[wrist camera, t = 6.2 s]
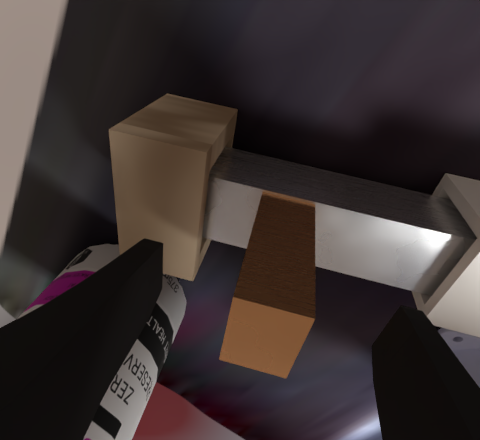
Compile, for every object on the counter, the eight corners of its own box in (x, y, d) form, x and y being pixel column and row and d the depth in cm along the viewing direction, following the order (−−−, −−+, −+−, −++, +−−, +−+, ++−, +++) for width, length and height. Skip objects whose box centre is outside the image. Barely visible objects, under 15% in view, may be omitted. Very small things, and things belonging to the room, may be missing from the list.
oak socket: (237, 109, 14) (206, 152, 10) (221, 217, 18) (193, 281, 13) (167, 93, 14) (108, 129, 10) (164, 203, 18) (120, 262, 14)
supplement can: (69, 284, 24) (-184, 573, 12) (97, 214, 19) (-270, 573, 7) (161, 335, 25) (20, 640, 13) (210, 281, 21) (60, 676, 9)
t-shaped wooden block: (512, 213, 13) (704, 419, 7) (470, 263, 15) (591, 466, 9) (176, 135, 14) (57, 247, 8) (173, 190, 16) (75, 321, 10)
